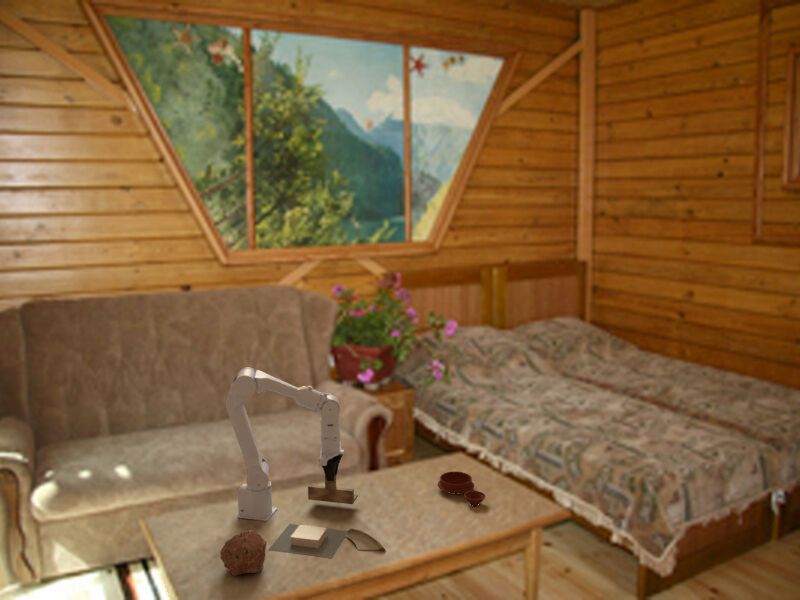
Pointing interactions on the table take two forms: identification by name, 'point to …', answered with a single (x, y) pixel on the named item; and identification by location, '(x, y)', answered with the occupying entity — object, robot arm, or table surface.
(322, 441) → the robot arm
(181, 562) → the table surface
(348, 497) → the walnut scraper
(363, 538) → the ceramic fragment
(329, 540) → the charcoal mat
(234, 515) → the table surface
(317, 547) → the light tan wooden block
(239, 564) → the decorative rock
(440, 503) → the table surface
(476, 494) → the pottery
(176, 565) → the table surface
